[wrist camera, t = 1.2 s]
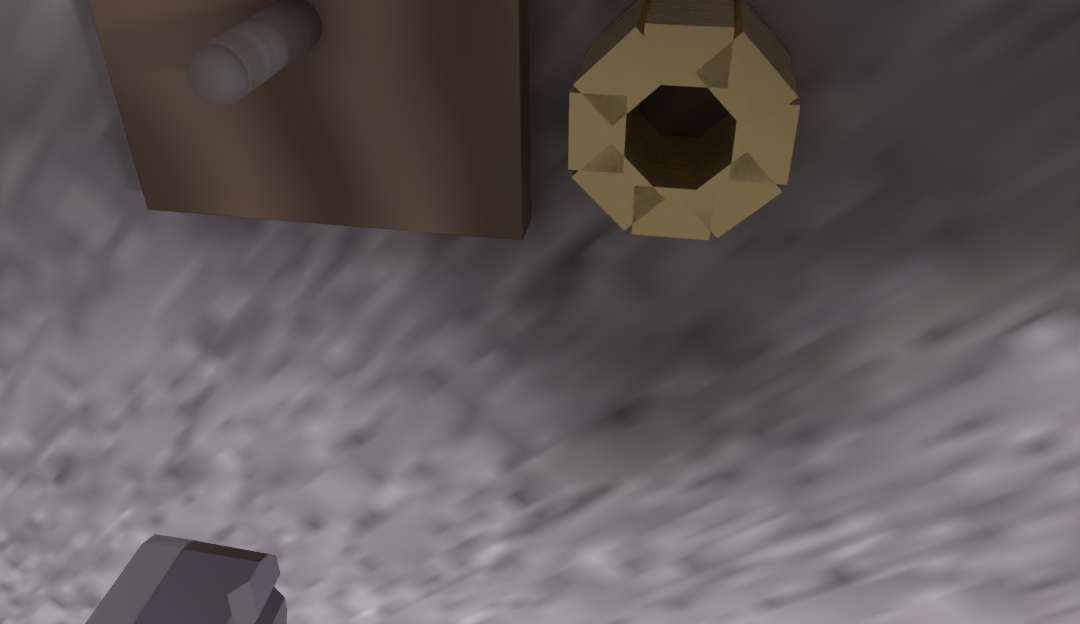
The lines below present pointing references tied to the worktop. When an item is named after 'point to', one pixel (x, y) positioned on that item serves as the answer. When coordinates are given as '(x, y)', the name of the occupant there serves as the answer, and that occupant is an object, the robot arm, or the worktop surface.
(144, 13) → the gear board
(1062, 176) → the worktop surface
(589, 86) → the octagonal hollow tube
